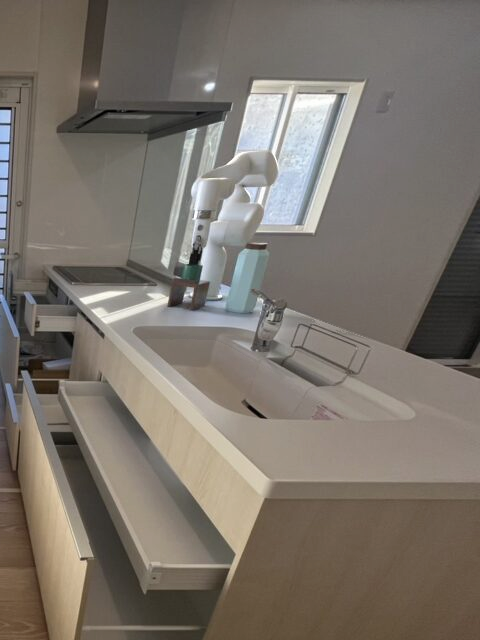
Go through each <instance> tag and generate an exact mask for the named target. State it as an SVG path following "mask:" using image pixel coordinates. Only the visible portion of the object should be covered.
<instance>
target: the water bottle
mask: <svg viewBox="0 0 480 640" xmlns="http://www.w3.org/2000/svg"><path fill="white" fill-rule="evenodd" d="M267 246H268V242H267V243H266V242H249V243H247V244H246V245H245V246H244V249H242V250H241V251H240V252H239V253H238V255H237V259H236V264H235V268H234V272H233V276H232V280H231V283H230V288H229V292H228V295H227V300H226V304H225V308H226V310H227V311H229V312H232V313H237V314H251V313H252V312H253V311H254V310H255V309H256V305H257V301H258V298H259V296H258V297H256V296H255V295H253V294H252V293H251V289H256V290H258V291H259V292H260V291H261V287H262V284H263V280H264V278H265V273H266V269H267V266H268V263H269V260H270V253H269V251H268V250H267Z"/></svg>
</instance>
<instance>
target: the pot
mask: <svg viewBox="0 0 480 640" xmlns="http://www.w3.org/2000/svg"><path fill="white" fill-rule="evenodd" d="M202 268H203V265H201V264H200V263H198V265H192V264H189V263H184V264H183V268H182V274H181V278H183V279H191V280H198V282H197V283H199V282H200V277H201V273H202Z"/></svg>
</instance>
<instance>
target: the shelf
mask: <svg viewBox="0 0 480 640" xmlns="http://www.w3.org/2000/svg"><path fill="white" fill-rule="evenodd" d="M197 282H198V280H191V279H183V278H182V277H173V279H172V281H171V285H170V289H169V295H168V301H167V305H166V306H167V307H173V306H175V305H178V304H181V303H184V298H185V292H186V288H193V291H192V292H193V296H192V297H191V301H190V304H189V305H190V306H189V311H194V310H198V309H201V308H203V307H205V306H206V305H205V304H206V302H207V300H206V298H207V293H208V289H209V284H210V281H203V280H200V282H199V283H197Z"/></svg>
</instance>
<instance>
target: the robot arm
mask: <svg viewBox="0 0 480 640" xmlns="http://www.w3.org/2000/svg"><path fill="white" fill-rule="evenodd" d="M279 167H280V166H279V164H278V161H277V158H276V155H275V153H273V152H272V151H271V150H269V149H266V150H251V151H243V152H240V153H238V154H237V155H235V156H234V157H233V158H232V159H231V160H230V161H229V162H228V163H226V164H225V165H223V166H219V167H217V168H213V169H209V171H205V172H204V173H202V174H200V175H199V177H198V178H196V179H195V181H194V182H193V184H192V186H191V189H190V195H191V197H192V199H193V200H195V201H194V202H195V203H194V206H193V212H192V218H191V220H192V221H194V226H193V231H192V235H191V236H192V237H191V245H190V247H191V248H192V249H191V253H190V254H189V255H190V256H189V260H188V264H192V265H198V264H201V265H203V268H202V273H201V277H200V280H203V281H210V284H209V289H208V293H207V298H206V301H216V300H217V301H218V300H221V299H222V298H223V295H222V294H220V291H221V290H222V286H221V285H222V281H223V277H224V273H225V270H226V269H225V268H226V264H227V261H228V253H227V250H226V248H225V247H224V246H226V247H227V246H228V247H246V244H247V243H251V241H252V240H253V237H254V236H255V234H256V232H257V231H258V228H259V227H260V225H261V223H262V221H263V219H264V216H265V207H264V205H263V204H262V203H260V202H251V201H252V197H251V195H250V193H249V192H248V190H246V188H267V187H271V186H273V185H274V184H275V183H276V182H277V180H278V177H279V174H280V168H279ZM223 200H226V202H225V203H224V205H223V207H222V208H221V210H220V212H219V214H218V216H217V220H216V214H217V210H218V205H219V201H223ZM192 296H193V291H192V292H190V293H189V297H191V298H192Z"/></svg>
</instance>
